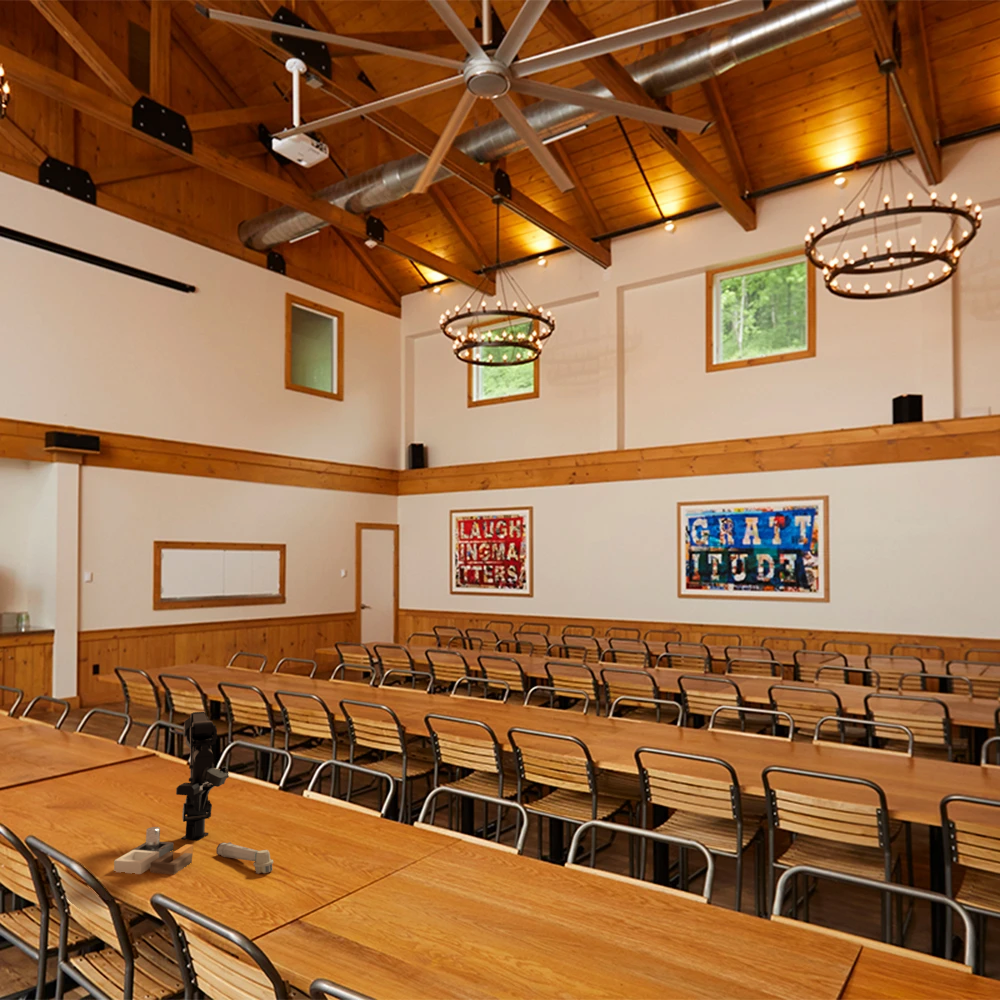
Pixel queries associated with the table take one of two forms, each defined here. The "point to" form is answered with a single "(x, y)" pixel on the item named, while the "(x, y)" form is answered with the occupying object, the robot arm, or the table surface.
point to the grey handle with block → (247, 856)
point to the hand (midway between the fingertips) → (199, 809)
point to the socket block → (162, 850)
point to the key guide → (170, 863)
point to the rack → (135, 861)
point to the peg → (152, 838)
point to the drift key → (183, 851)
